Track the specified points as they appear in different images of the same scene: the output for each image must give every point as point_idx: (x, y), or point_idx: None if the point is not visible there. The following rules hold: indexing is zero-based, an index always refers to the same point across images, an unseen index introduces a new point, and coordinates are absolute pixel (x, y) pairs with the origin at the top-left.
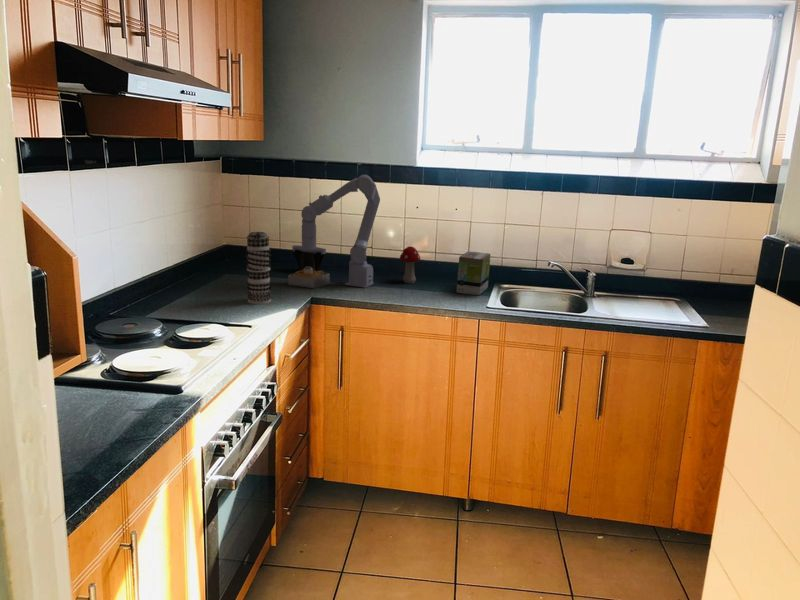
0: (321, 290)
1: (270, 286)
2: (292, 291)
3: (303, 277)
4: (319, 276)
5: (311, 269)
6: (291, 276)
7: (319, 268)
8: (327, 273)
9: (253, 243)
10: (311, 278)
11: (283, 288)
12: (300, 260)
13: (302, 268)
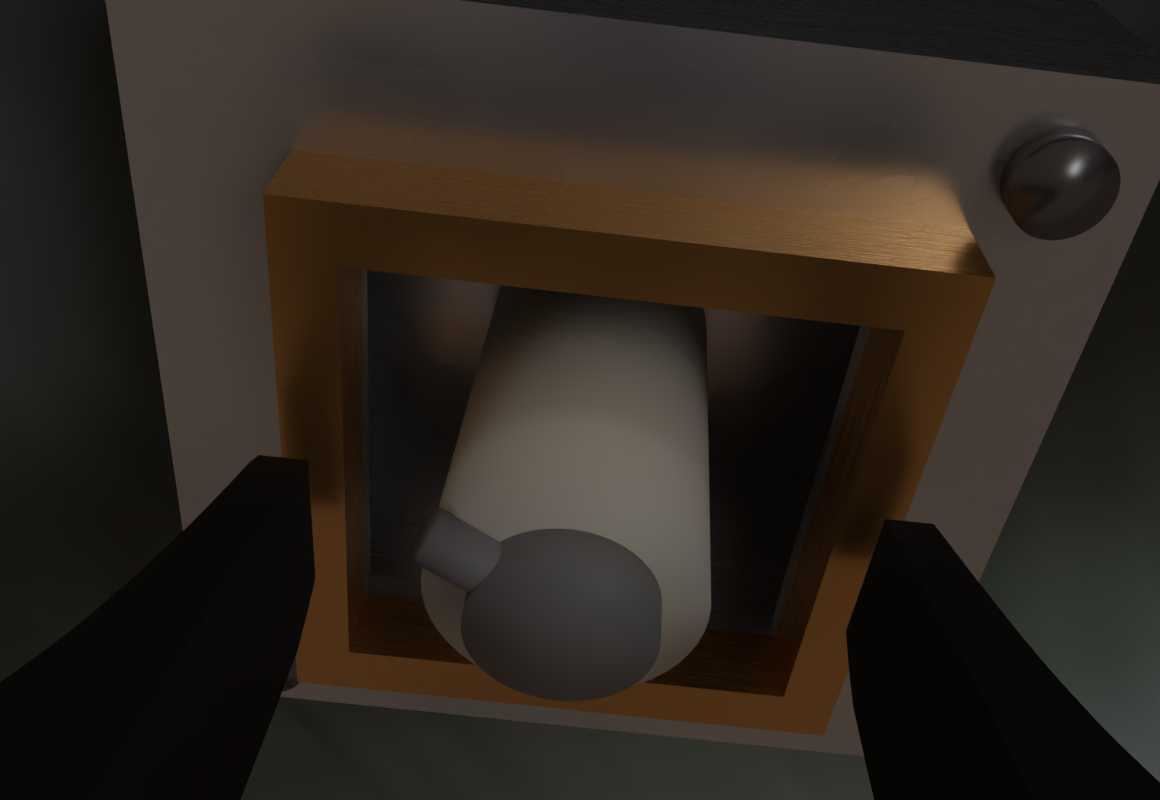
0: (1032, 622)
1: None
2: (580, 791)
3: (617, 722)
4: (956, 541)
5: (702, 620)
6: (298, 685)
7: (963, 572)
8: (1120, 113)
9: None
10: (827, 739)
11: (346, 709)
12: (211, 792)
13: (309, 489)
